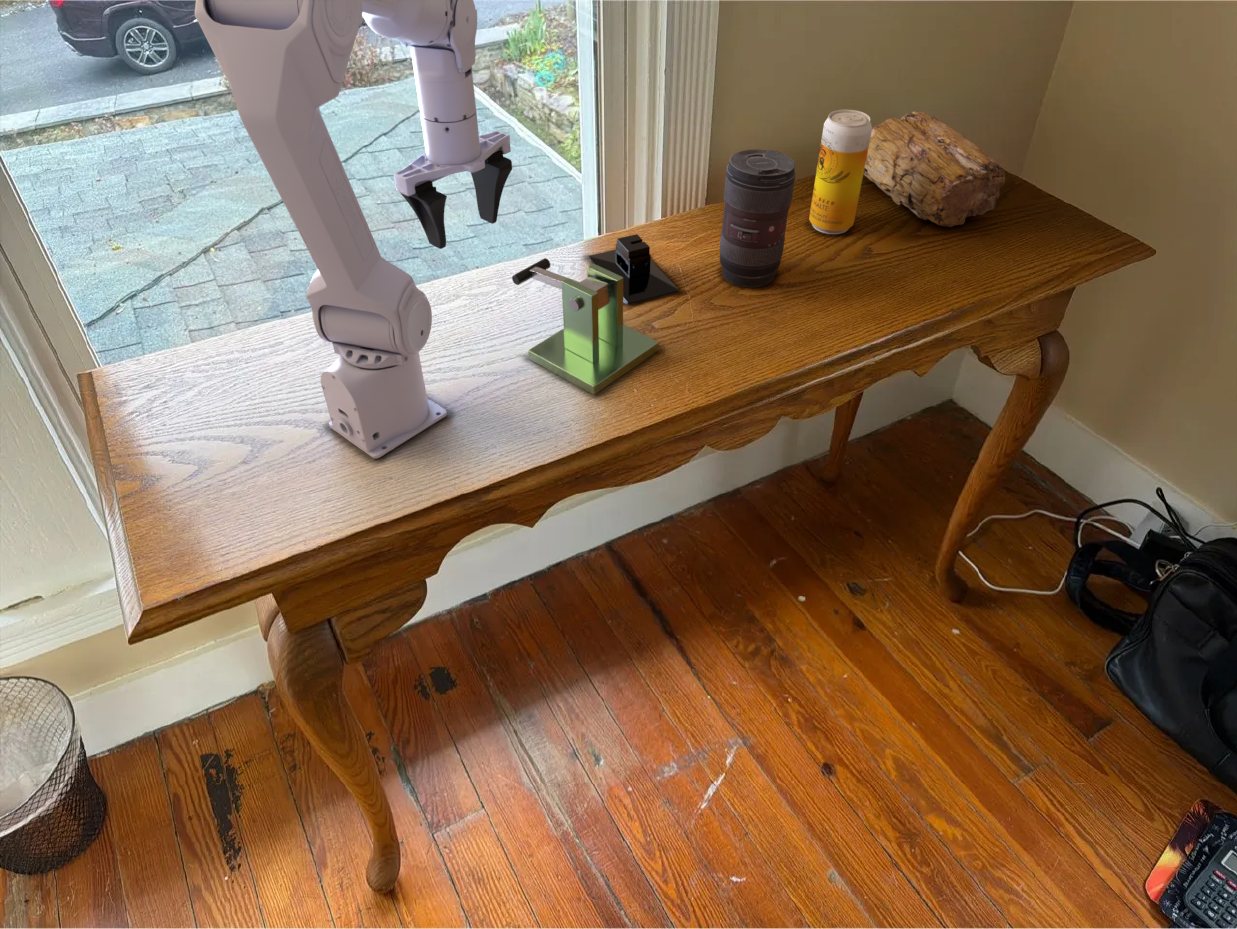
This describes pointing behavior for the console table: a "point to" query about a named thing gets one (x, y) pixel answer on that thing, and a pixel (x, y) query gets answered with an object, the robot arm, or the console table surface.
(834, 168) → the beer can
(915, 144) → the petrified wood
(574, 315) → the bracket
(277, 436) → the console table surface
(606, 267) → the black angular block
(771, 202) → the camera lens
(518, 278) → the lever
